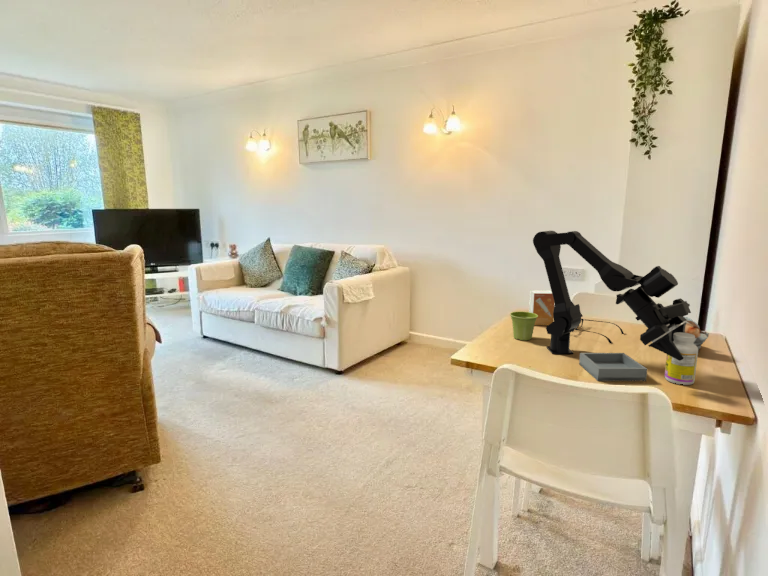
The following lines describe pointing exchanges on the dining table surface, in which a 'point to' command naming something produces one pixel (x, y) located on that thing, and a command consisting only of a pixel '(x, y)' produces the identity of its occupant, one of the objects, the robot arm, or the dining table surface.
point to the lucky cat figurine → (695, 332)
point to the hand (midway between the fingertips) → (687, 355)
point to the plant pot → (523, 324)
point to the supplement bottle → (686, 367)
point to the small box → (542, 306)
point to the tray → (612, 367)
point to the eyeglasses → (598, 333)
